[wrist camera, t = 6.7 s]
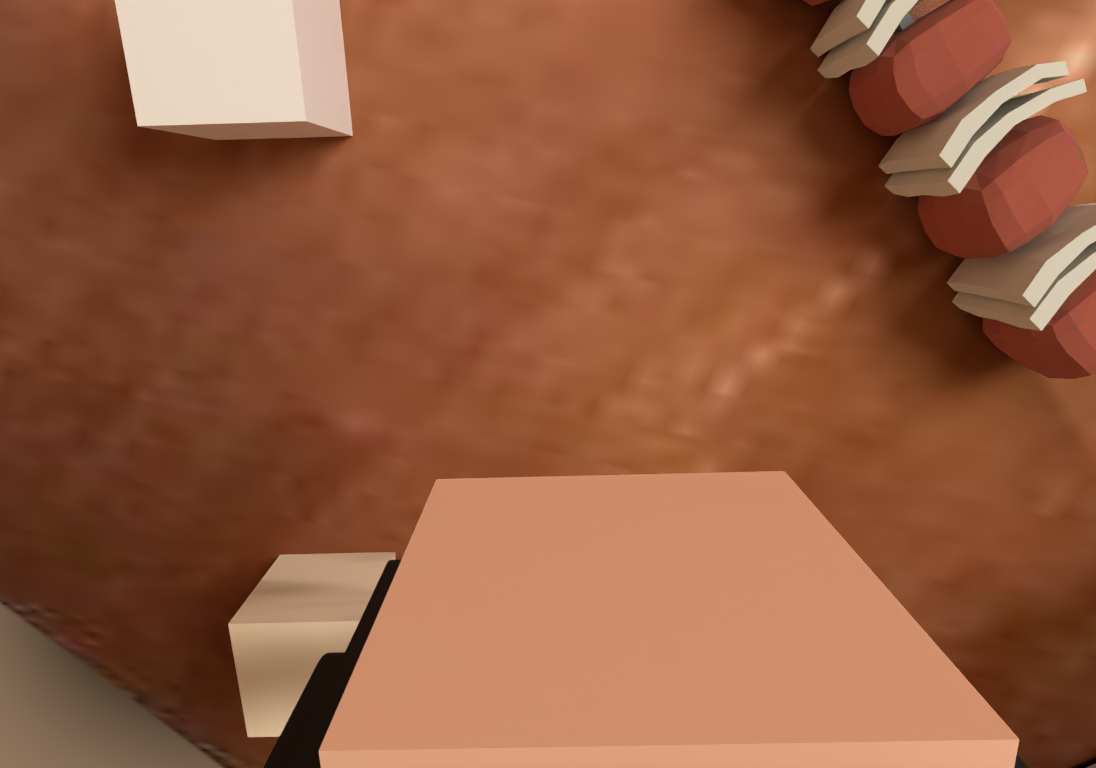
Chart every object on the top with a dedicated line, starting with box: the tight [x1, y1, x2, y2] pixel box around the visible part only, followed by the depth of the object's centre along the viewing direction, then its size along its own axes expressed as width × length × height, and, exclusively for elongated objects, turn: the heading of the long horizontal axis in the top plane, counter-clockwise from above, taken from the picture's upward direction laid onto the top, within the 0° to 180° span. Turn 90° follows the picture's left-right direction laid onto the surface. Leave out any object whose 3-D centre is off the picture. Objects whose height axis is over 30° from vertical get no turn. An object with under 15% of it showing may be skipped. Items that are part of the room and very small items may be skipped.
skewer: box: [803, 0, 1096, 379], centre depth 23 cm, size 5×5×30 cm
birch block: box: [228, 552, 396, 737], centre depth 27 cm, size 5×5×5 cm
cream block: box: [115, 0, 353, 140], centre depth 21 cm, size 5×5×5 cm
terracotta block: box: [319, 471, 1019, 768], centre depth 8 cm, size 5×5×5 cm
